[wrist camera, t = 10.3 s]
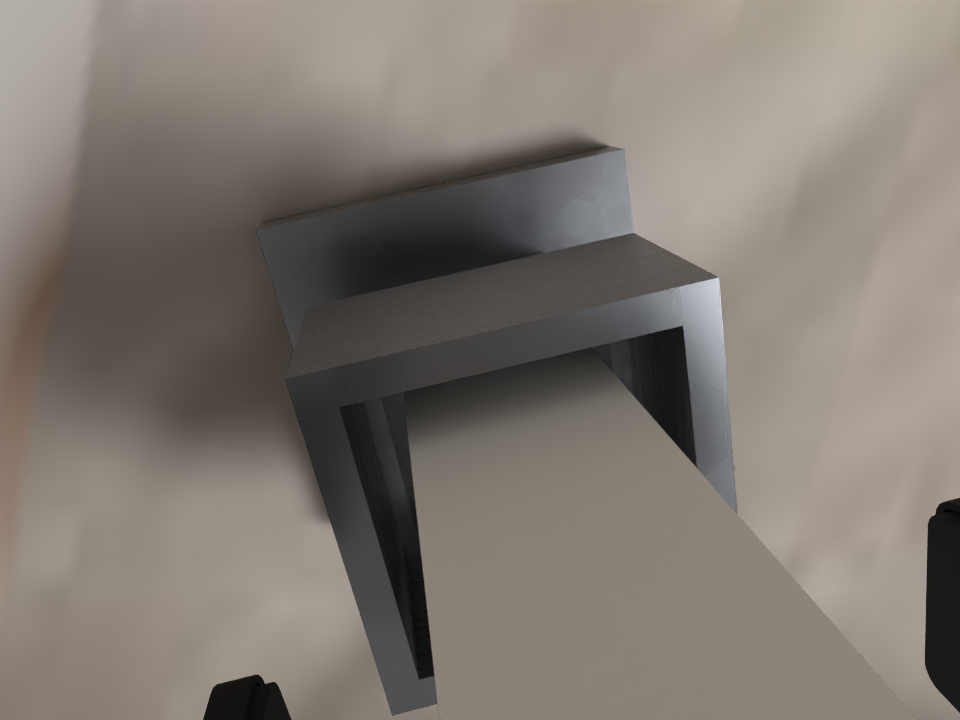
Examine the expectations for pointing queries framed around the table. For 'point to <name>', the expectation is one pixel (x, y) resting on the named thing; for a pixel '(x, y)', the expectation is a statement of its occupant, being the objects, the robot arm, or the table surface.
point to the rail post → (604, 567)
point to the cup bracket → (476, 347)
